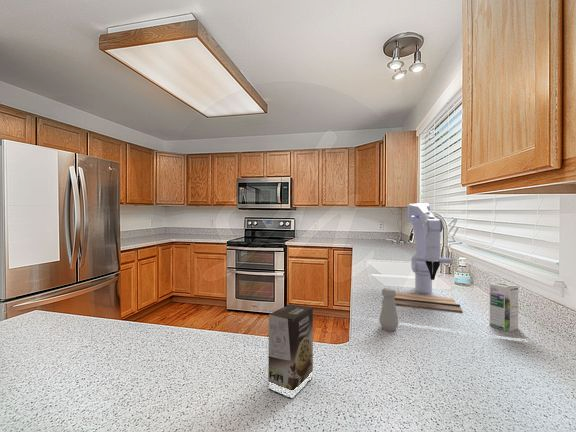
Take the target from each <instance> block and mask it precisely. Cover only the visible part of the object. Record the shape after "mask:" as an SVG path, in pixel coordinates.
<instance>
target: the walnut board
mask: <svg viewBox="0 0 576 432" xmlns="http://www.w3.org/2000/svg"><path fill="white" fill-rule="evenodd" d="M383 300H384V298H383V299H382V301H383ZM394 300H395V306H399V307H406V308H407V307H408V308H409V307H411V308H416V309H417V308H418V309H424V310H425V309H426V310H432V311H433V310H434V311H444V312H452V313H462V314H463V309H462V307H461V304H460V303H456V304H450V303H441V302H431V301H422V300H412V299H403V298H394Z"/></svg>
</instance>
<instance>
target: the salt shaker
mask: <svg viewBox="0 0 576 432" xmlns="http://www.w3.org/2000/svg"><path fill="white" fill-rule="evenodd" d="M396 293H397V291H396V290H395V288H392V287H384V288H383V289H382V290H381V295H382V297H383V299H384V300H383V299H382V305H381V309H380V310H381V311H380V315H379V320H378V321H379V324H380V326H381V329H382V330H384V331H386V332H394V331H396V330H397V328H398V327H399V319H398V312H397V307H396V306H397V305H395V300H394V297H395V296H396Z"/></svg>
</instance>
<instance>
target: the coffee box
mask: <svg viewBox="0 0 576 432" xmlns="http://www.w3.org/2000/svg"><path fill="white" fill-rule="evenodd" d="M313 312H314V307H311V306H305V305H299V304H293V303H289V304H287V305H285V306H283V307H281V308H278V309H276V310H275V311H273V312H271V313H268V352H267V353H268V365H267V374H268V375H267V377H268V379H267V381H269V382H271V383H274V384H276V385H278V386H281V387H284V388H287V389H289V390H294V389H295V388H296V387H298V386H299V385H300V384H301V383H302V382H303V381H304V380H305V379H306V378H307V377H308V376H309V374H310V373H311V372H312V371H313V372H314V368H313V367H314V363H313V362H314V360H313V359H314V356H313V355H314V345H313V344H314V342H313V341H314V339H313V338H314V334H313V333H314V329H313V328H314V313H313Z"/></svg>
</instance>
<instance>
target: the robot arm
mask: <svg viewBox="0 0 576 432" xmlns="http://www.w3.org/2000/svg"><path fill="white" fill-rule="evenodd" d="M406 214H407V215H406V216H407V220H408V222H409V223H411V225H412V229H413V234H414V235H413V236H414V243H415V244H414V245H415V250H416V253H415V254H414V255H412V257H411V258H410V260H411V267H410V268H411V270H412V273H414V275H415V276H414V280H415V281H414V291H415V292H418V293H422V294H432V293H433V281H435V280H436V279H435V278H436V275H437V272H438V270H439V268H440V266H441V264H453V262H454V261H453V258H452V257H442V256H441V233H442V232H443V227H444V226H443V220H442V218H436V216H435V215H434V214H433V213H432V212H431V206H430V204H429V203H428V202H427V203H408V204H407V208H406Z"/></svg>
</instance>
